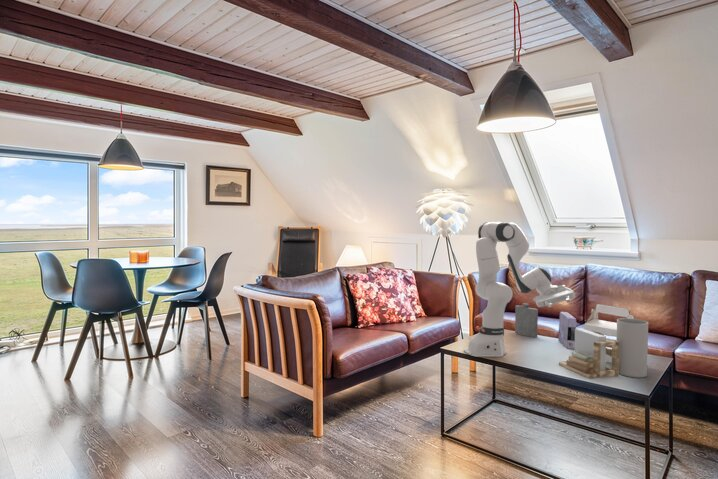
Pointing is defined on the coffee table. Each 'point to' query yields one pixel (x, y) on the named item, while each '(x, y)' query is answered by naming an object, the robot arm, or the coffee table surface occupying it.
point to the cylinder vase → (632, 347)
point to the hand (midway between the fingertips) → (559, 303)
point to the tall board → (590, 344)
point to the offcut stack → (581, 362)
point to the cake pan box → (567, 330)
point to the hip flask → (526, 320)
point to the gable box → (606, 323)
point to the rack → (596, 361)
